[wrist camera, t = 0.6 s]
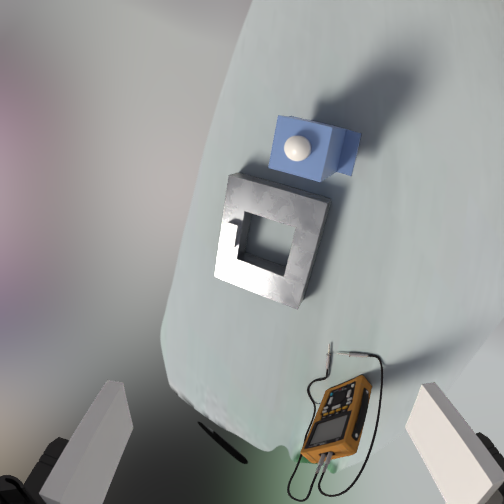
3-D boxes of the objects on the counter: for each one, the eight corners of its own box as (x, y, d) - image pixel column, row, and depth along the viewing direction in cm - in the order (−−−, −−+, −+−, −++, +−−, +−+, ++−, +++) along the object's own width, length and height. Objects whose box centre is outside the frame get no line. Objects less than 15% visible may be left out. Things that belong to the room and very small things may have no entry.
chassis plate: (238, 172, 39) (225, 176, 36) (331, 199, 35) (325, 205, 33) (223, 269, 45) (211, 278, 42) (303, 300, 42) (295, 312, 39)
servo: (298, 117, 34) (256, 111, 24) (363, 133, 31) (350, 132, 21) (291, 154, 36) (247, 164, 26) (354, 172, 33) (337, 189, 23)
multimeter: (356, 327, 40) (316, 449, 23) (394, 375, 40) (371, 496, 23) (279, 366, 48) (218, 465, 31) (317, 406, 48) (271, 506, 31)
